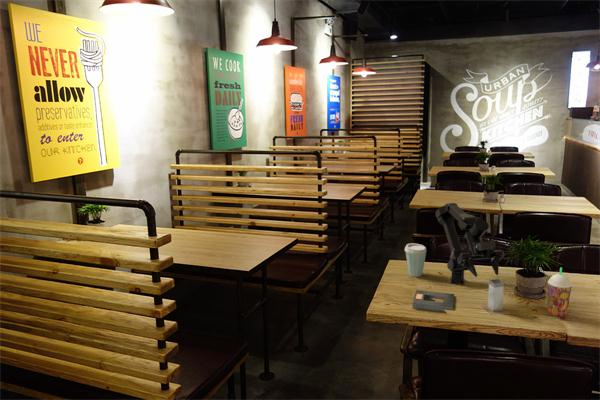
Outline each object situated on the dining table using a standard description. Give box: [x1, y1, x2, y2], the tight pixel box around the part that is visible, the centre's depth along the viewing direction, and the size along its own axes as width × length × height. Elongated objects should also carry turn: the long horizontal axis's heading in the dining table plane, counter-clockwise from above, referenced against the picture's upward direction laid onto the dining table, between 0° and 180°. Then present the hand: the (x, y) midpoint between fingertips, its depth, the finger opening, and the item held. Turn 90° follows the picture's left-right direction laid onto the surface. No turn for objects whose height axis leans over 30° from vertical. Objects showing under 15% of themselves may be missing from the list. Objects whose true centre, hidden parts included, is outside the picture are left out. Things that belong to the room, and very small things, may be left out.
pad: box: [480, 304, 510, 315], centre depth 191 cm, size 8×8×2 cm
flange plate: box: [412, 289, 455, 313], centre depth 201 cm, size 14×16×3 cm
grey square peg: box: [487, 278, 505, 312], centre depth 190 cm, size 4×4×12 cm
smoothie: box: [546, 267, 573, 319], centre depth 185 cm, size 8×8×20 cm
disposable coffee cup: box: [404, 242, 427, 278], centre depth 232 cm, size 11×11×15 cm
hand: (487, 275), depth 195 cm, fingers open, 9 cm apart
